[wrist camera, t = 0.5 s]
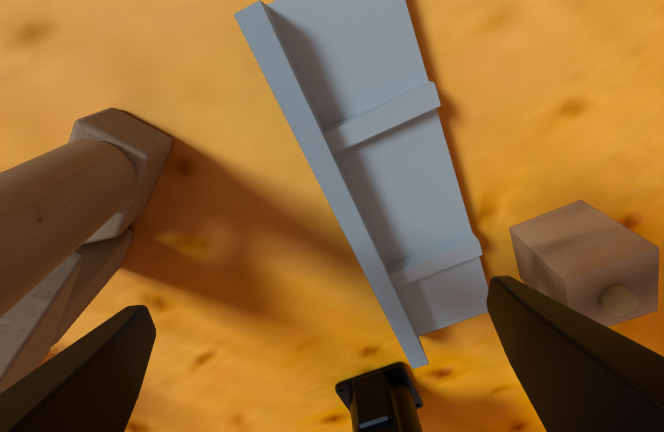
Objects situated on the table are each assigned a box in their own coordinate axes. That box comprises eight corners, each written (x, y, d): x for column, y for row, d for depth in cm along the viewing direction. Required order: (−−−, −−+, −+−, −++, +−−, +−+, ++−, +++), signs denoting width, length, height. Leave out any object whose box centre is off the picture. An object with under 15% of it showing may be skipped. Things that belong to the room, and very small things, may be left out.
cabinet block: (588, 252, 26) (673, 319, 20) (520, 277, 26) (581, 348, 20) (583, 198, 24) (677, 254, 18) (508, 227, 24) (574, 290, 18)
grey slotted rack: (485, 296, 27) (511, 335, 24) (399, 327, 28) (412, 369, 25) (381, -53, 16) (401, -77, 13) (249, 18, 17) (233, 14, 14)
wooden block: (65, 245, 23) (-505, 729, 7) (113, 103, 19) (-970, 469, 3) (121, 268, 24) (-260, 732, 8) (178, 138, 20) (-359, 545, 4)
